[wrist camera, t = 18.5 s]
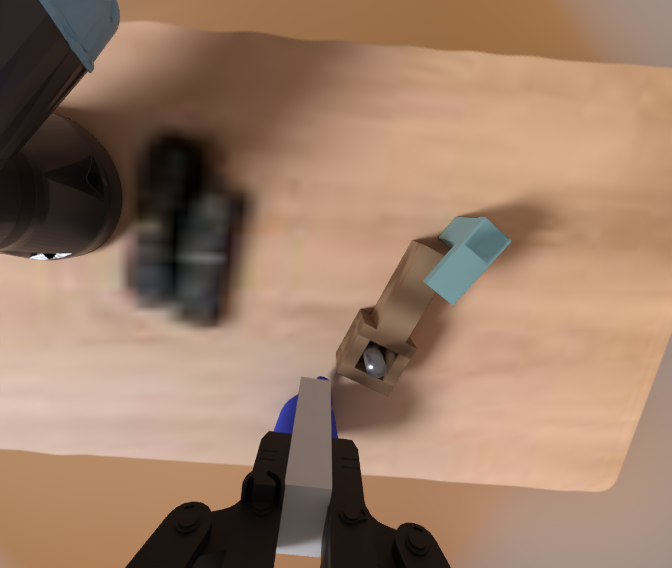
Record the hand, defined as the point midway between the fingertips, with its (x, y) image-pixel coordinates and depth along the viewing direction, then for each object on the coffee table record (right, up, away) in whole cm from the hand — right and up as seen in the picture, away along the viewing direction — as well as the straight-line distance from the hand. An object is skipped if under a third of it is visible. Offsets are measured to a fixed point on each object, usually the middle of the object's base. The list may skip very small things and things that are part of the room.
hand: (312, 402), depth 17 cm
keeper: (+13, +10, +21) cm, 27 cm away
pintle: (+5, -1, +23) cm, 24 cm away
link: (+8, +3, +23) cm, 24 cm away
